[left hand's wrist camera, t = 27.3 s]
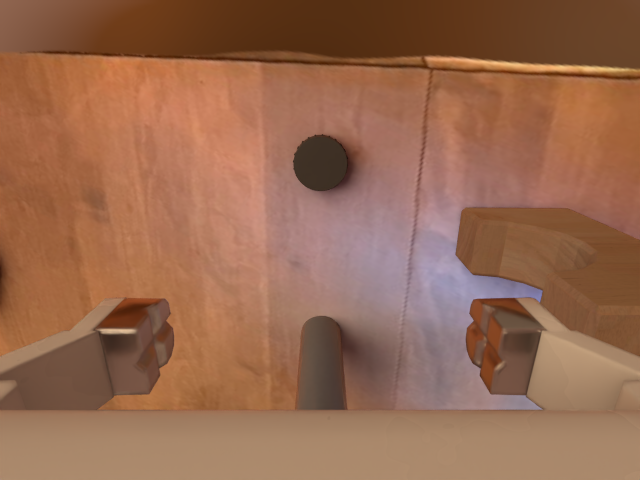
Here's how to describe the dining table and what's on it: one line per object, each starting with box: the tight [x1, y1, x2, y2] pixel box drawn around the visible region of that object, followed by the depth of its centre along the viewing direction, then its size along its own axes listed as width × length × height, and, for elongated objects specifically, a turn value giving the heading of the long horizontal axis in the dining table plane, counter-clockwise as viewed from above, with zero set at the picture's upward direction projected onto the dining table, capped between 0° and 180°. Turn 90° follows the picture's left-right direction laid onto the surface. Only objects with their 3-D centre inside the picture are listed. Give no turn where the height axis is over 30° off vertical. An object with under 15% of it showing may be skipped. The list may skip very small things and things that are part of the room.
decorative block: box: [456, 208, 640, 356], centre depth 30 cm, size 11×6×20 cm, turn 88°
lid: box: [293, 134, 348, 191], centre depth 36 cm, size 5×5×2 cm
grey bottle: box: [295, 316, 347, 410], centre depth 36 cm, size 5×5×17 cm
